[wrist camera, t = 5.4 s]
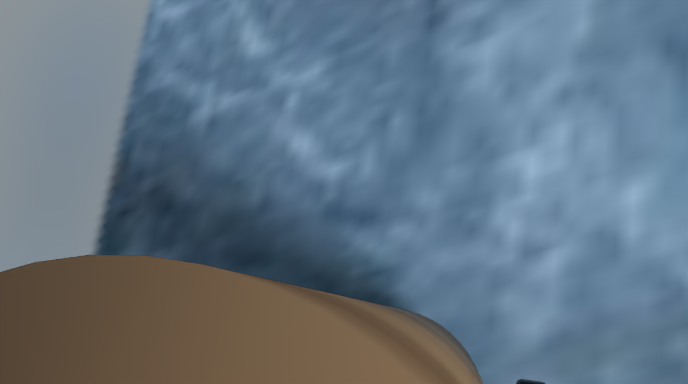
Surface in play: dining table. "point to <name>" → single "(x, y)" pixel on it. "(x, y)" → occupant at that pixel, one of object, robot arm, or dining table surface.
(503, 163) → the dining table surface
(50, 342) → the walnut cylinder
